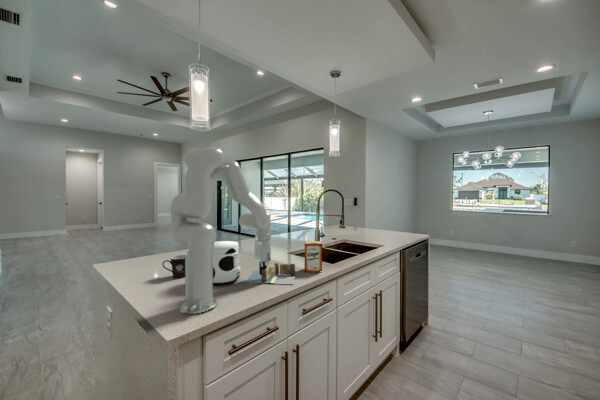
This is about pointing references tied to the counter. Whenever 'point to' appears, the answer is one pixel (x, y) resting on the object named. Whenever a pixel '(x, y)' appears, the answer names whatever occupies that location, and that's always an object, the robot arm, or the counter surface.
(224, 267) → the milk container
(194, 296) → the robot arm
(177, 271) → the coffee mug
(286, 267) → the fence fixed
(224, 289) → the counter surface
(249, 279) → the card
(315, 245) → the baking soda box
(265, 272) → the fence panel
